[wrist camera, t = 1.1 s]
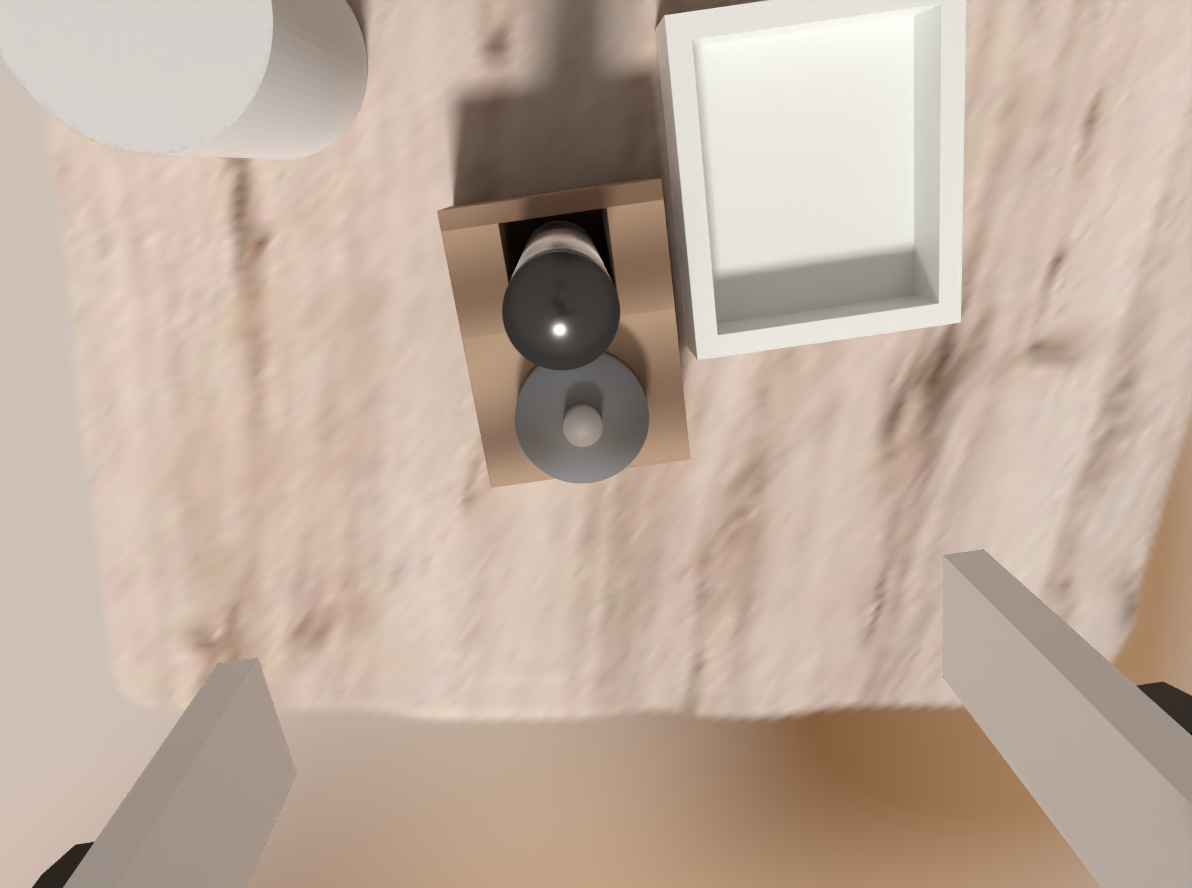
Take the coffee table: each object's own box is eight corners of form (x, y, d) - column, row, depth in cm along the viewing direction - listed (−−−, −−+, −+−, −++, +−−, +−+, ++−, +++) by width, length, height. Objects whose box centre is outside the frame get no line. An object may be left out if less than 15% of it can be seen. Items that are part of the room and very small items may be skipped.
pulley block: (453, 205, 36) (426, 214, 29) (648, 177, 36) (670, 179, 29) (499, 450, 40) (485, 511, 33) (674, 425, 40) (700, 480, 33)
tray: (655, 29, 34) (664, 15, 31) (930, -11, 34) (966, -29, 31) (686, 345, 39) (697, 360, 36) (929, 310, 39) (960, 322, 36)
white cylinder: (134, 2, 33) (-88, -87, 22) (306, -86, 32) (169, -226, 21) (239, 189, 36) (90, 198, 24) (401, 111, 35) (325, 83, 23)
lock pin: (518, 226, 37) (492, 261, 22) (591, 215, 37) (612, 244, 22) (530, 299, 38) (513, 377, 23) (601, 289, 38) (627, 361, 23)
